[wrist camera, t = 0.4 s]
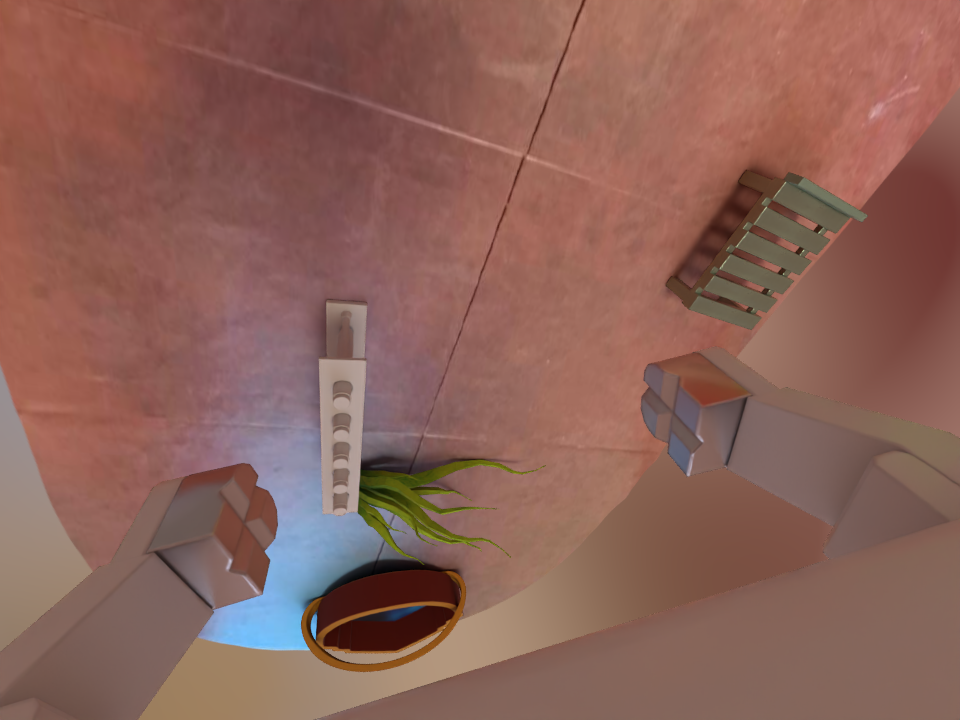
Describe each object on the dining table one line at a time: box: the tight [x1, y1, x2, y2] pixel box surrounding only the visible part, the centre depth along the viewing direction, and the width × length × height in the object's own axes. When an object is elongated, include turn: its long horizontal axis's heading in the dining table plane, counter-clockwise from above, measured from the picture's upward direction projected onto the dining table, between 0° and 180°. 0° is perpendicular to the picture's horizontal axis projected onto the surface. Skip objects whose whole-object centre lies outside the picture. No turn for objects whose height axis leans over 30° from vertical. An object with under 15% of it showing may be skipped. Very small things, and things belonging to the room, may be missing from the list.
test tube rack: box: [319, 299, 367, 516], centre depth 50 cm, size 25×4×13 cm, turn 168°
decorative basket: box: [301, 570, 466, 672], centre depth 86 cm, size 34×29×15 cm
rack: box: [666, 170, 868, 330], centre depth 51 cm, size 17×12×8 cm
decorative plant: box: [348, 460, 546, 565], centre depth 64 cm, size 18×30×15 cm, turn 53°
